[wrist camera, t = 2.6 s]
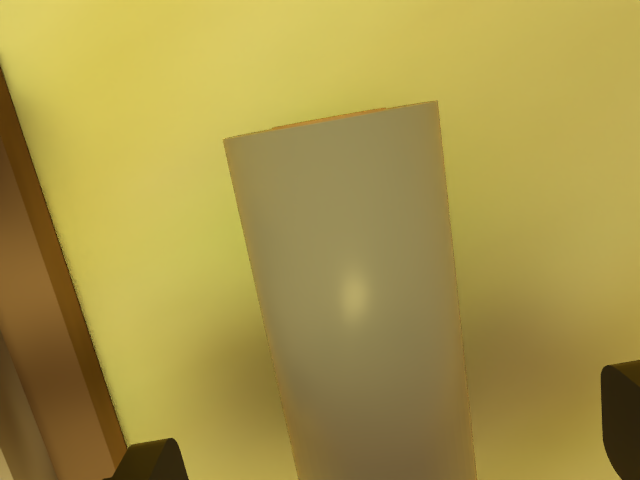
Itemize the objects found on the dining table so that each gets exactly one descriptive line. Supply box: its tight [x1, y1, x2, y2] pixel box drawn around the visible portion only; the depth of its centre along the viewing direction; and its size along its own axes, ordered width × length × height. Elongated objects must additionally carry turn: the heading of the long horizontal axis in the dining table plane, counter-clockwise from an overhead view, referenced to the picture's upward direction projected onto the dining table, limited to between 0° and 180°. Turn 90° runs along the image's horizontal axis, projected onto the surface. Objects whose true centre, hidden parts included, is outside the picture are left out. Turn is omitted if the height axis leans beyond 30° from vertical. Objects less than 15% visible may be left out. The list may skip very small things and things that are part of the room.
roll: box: [223, 101, 477, 480], centre depth 13 cm, size 11×5×5 cm, turn 10°
